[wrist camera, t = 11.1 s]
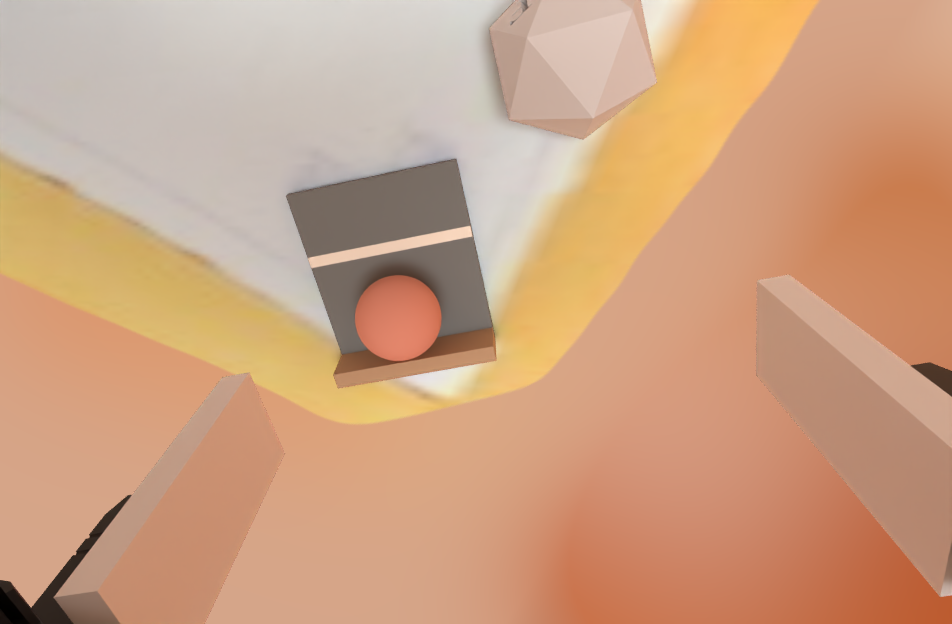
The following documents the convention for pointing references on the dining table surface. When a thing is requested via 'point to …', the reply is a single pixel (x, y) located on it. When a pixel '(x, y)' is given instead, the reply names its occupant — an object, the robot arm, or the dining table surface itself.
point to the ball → (398, 318)
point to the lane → (397, 263)
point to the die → (571, 61)
